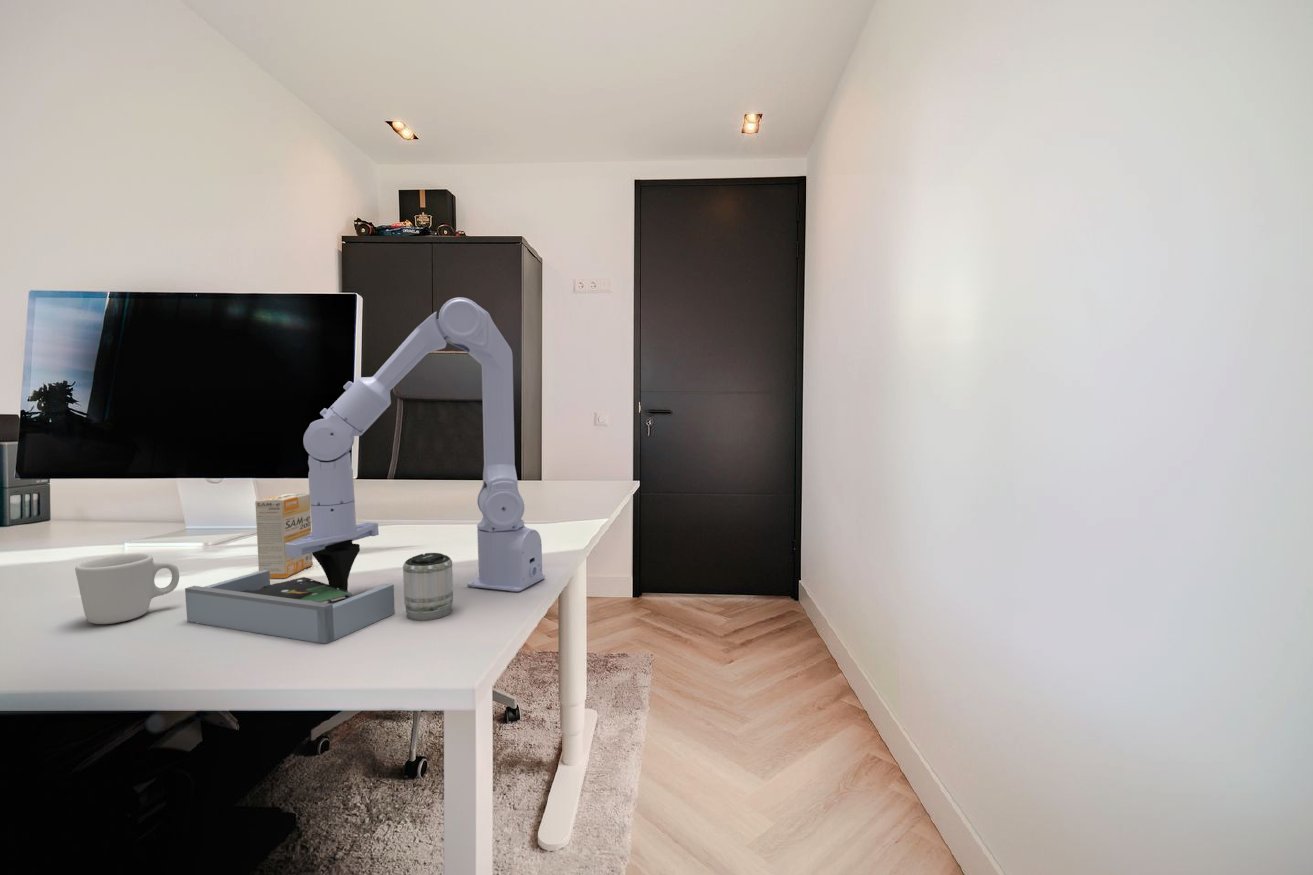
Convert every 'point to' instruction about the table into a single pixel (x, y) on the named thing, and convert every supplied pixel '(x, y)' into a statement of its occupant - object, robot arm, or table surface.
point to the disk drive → (304, 591)
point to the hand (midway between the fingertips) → (338, 594)
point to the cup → (120, 586)
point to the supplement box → (282, 532)
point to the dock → (284, 610)
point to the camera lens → (428, 586)
